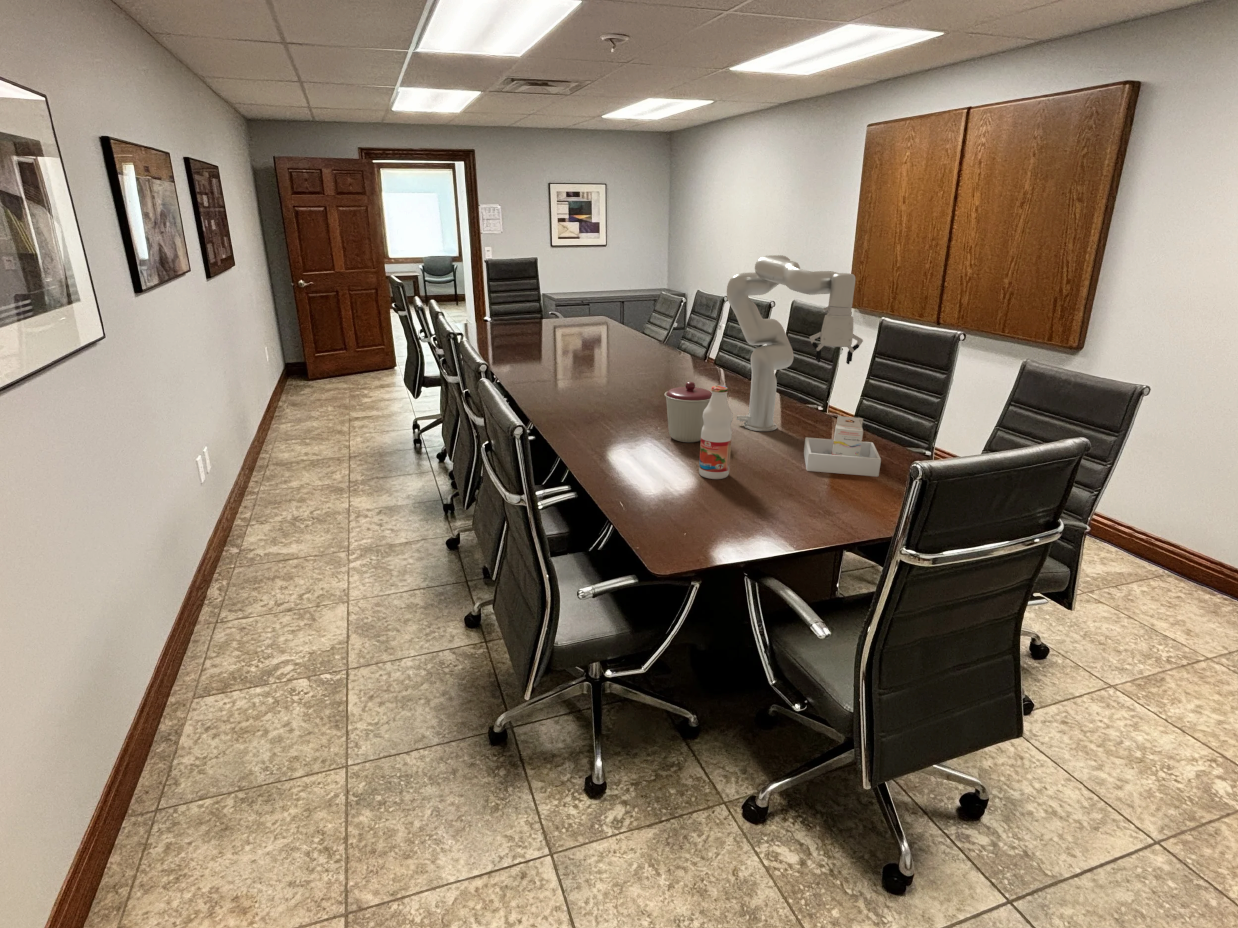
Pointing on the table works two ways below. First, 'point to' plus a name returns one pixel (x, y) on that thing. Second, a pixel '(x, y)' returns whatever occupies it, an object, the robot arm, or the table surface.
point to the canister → (686, 411)
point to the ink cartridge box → (848, 436)
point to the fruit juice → (716, 436)
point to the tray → (840, 458)
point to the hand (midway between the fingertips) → (833, 362)
